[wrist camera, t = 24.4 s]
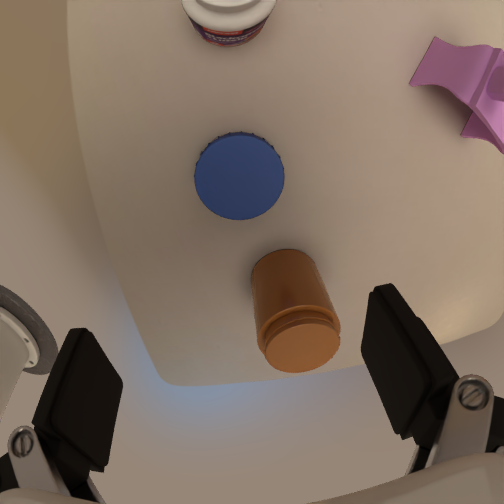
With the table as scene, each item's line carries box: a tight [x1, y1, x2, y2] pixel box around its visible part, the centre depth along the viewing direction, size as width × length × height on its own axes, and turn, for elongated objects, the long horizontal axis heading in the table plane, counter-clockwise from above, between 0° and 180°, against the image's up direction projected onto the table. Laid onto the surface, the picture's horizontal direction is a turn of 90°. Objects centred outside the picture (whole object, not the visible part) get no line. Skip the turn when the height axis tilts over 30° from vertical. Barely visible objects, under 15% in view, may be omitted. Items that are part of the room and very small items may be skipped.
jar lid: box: [194, 131, 284, 220], centre depth 23 cm, size 7×7×2 cm
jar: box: [251, 249, 340, 373], centre depth 26 cm, size 7×7×9 cm
